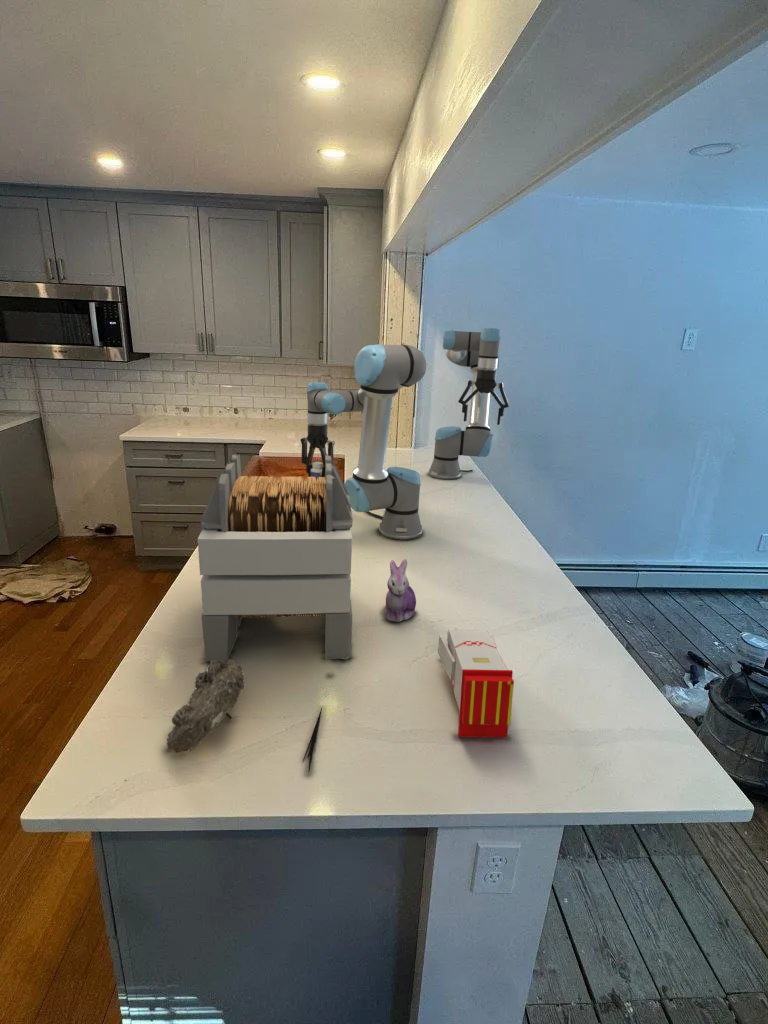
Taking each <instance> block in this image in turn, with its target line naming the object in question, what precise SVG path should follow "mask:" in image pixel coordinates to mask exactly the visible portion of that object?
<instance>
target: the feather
mask: <svg viewBox="0 0 768 1024" xmlns="http://www.w3.org/2000/svg"><path fill="white" fill-rule="evenodd" d="M329 675H330V676H331V675H332V674H331V673H330V674H329ZM322 710H323V707H321V708H320V710H319V713H318V716H317V719H316V723H315V725H314V728H313V731H312V733H311V737H310V739H309V742H308V745H307V748H306V751H305V754H304V757H303V760H302V763H301V767H302V765H303V763H304V761H305V758H308V759H309V760H308V762H307V763H308V764H307V766H308V771H310V770H311V766H312V765H311V764H312V760H313V757H315V756H314V755H315V751H316V749H315V746H317V739H318V733H319V729H320V722H321V717H322V712H323V711H322ZM313 754H314V755H313ZM306 755H307V757H306Z"/></svg>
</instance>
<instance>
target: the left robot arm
mask: <svg viewBox="0 0 768 1024" xmlns="http://www.w3.org/2000/svg"><path fill="white" fill-rule="evenodd" d="M353 370H354V371H353V372H354V375H355V376H354V378H355V380H356V382H357V384H359V385H360V388H358V389H357V390H338V391H337V390H336V391H330V390H329V386H328V383H327V382H322V381H311V382H309V383H308V384H307V392H306V394H307V398H306V399H307V423H308V424H307V436H306V437H302V438H300V443H301V463H302V464H304V465H305V472H306V474H307V477H311V469H312V468H313V467H312V463H313V458H314V455H315V451H316V449H318V450H319V452H320V457H321V460H322V461H321V462H322V463H323V467H322V477H325V455H327V456H331V457H332V459H333V460H334V446H335V444H336V442H335V441H334V440H330V439H329V437H328V414H329V415H340V414H341V413H350V412H362V421H361V430H360V431H361V432H360V441H359V442H360V443H359V454H358V465H356V466H355V467H354V468H353V470H352V477H349V478H347V479H346V480H345V481H344V485H345V487H346V489H347V492H348V494H349V500H350V506H351V510H352V511H354V512H356V513H364V512H365V513H366V514H367V515H369V516H372V517H374V518H378V519H381V522H379V526H378V533H379V534H380V535H381V536H382V537H385V538H387V539H389V540H395V541H410V540H415V539H418V538H420V537H421V536H422V535H423V525H422V524H421V518H420V515H419V507H420V506H419V505H420V490H421V474H420V472H418V471H416V470H414V469H411V468H407V467H401V466H389V467H387V469H386V468H385V467H386V458H387V449H388V441H389V430H390V423H391V422H390V421H391V414H392V405H393V398H394V397H395V396H396V395H397V394H398V393H399V390H401V389H402V388H410V387H412V386H414V385H415V384H417V383H419V382H420V381H421V380H422V379H423V378H424V377H425V374H426V371H427V360H426V357H425V355H424V354H423V352H422V351H421V350H420V349H419V348H417V347H416V346H414V345H411V344H410V345H409V344H379V343H377V344H369V345H365V346H363V347H362V348H361V349H360V350H359V352H358V353H357V355H356V357H355V361H354V368H353ZM308 444H309V447H308ZM326 445H327V448H326ZM308 448H309V449H308ZM383 509H384V513H383V515H380V514H376V513H373V512H372V511H377V510H383Z"/></svg>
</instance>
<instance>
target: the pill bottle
mask: <svg viewBox="0 0 768 1024" xmlns="http://www.w3.org/2000/svg"><path fill="white" fill-rule="evenodd" d="M311 463H312V464H311V465H312V467H313V468H312V469H311V477H316V481H317V478H318V479H319V477H322V467H324V465H323V461H314V462H313V461H312V462H311Z"/></svg>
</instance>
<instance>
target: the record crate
mask: <svg viewBox="0 0 768 1024" xmlns="http://www.w3.org/2000/svg"><path fill="white" fill-rule="evenodd" d="M344 484H345V482H344V481H343V478H342V477H341V474H340V472H339V470H338V468H337V466H336V463H335V461H334V458H333V459H332V457H331V456H328V454H327V455H325V477H319V479H318V478H317V481H316V477H308V476H307V477H303V476H288V475H287V476H280V477H279V476H274V475H270V476H268V475H259V476H258V475H255V476H254V475H250V476H247V475H242V466H241V456H240V454H231V457H230V459H229V462H227V463H226V466H225V467H224V470H223V472H222V474H220V476H219V478H218V480H217V482H216V484H215V487H214V488H213V491H212V493H211V496H210V498H209V500H208V502H207V505H206V507H205V509H204V511H203V513H202V516H201V518H200V527H201V532H200V533H199V535H198V537H197V550H198V565H199V576H202V577H201V579H200V590H201V591H200V592H201V606H202V607H201V608H202V613H201V626H202V627H201V629H202V640H203V646H204V658H203V660H204V662H208V663H210V662H211V661H212V660H217V661H222V662H223V661H224V660H227V659H228V660H229V658H230V655H231V653H232V650H233V648H234V645H235V643H236V640H237V638H238V628H240V625H241V621H242V619H243V618H282V617H283V618H289V617H290V618H293V617H297V618H298V617H314V616H315V617H320V616H321V617H324V653H325V654H324V655H325V660H338V659H339V660H348V659H350V658H352V644H353V643H352V641H353V639H352V638H353V610H352V600H351V588H352V587H351V586H352V582H351V581H352V577H351V574H352V553H353V552H352V548H353V547H352V546H353V537H352V530H351V528H352V527H353V523H354V520H353V513H352V508H351V506H350V500H349V494H348V492H347V489H346V487H345V485H344Z"/></svg>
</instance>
